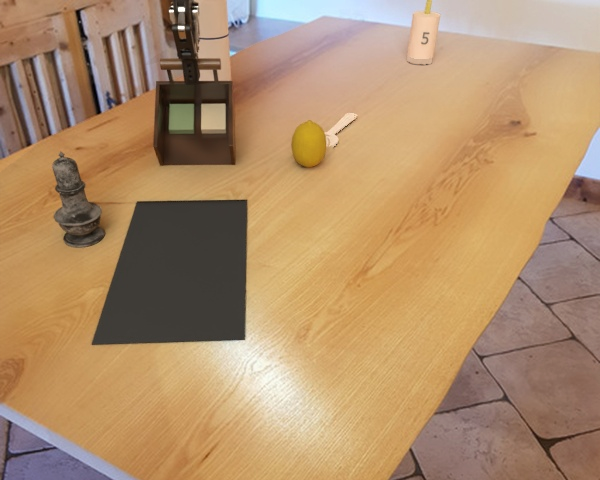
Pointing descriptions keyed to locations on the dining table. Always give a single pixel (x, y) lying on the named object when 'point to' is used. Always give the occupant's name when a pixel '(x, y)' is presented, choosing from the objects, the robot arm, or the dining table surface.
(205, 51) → the cylindrical container
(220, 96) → the basket
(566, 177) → the dining table surface
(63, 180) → the salt shaker
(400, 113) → the dining table surface
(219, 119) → the block
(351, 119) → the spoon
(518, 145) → the dining table surface
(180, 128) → the block
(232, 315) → the mat
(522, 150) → the dining table surface
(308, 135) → the lemon
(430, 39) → the candle
